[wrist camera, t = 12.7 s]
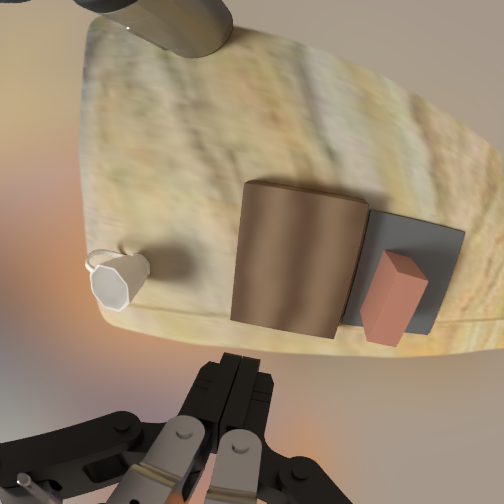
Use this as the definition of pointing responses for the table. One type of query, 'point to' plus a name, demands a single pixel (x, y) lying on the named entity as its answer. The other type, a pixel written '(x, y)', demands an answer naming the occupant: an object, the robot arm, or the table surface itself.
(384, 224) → the mat
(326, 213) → the platform
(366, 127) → the table surface
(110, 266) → the cup
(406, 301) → the block
